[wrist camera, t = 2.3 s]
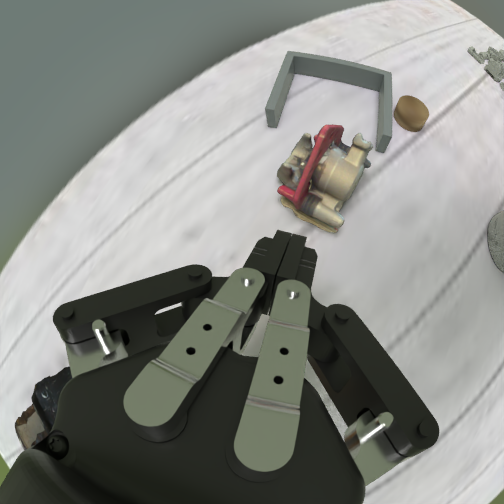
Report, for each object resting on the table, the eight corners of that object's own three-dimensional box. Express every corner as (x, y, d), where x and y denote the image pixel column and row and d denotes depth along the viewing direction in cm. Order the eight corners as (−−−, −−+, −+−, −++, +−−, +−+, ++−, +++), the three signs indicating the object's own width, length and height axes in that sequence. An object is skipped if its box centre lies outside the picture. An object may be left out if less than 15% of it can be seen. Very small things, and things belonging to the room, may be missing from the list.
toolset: (67, 302, 34) (99, 442, 13) (160, 355, 46) (252, 461, 26) (2, 445, 24) (24, 556, 4) (79, 472, 36) (124, 567, 16)
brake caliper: (292, 118, 33) (354, 90, 22) (345, 171, 37) (411, 165, 26) (243, 184, 32) (299, 173, 21) (307, 236, 36) (373, 249, 25)
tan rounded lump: (421, 113, 33) (427, 102, 30) (423, 136, 32) (429, 125, 30) (393, 103, 34) (398, 91, 31) (393, 126, 33) (398, 113, 30)
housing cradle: (386, 89, 35) (391, 72, 31) (383, 153, 33) (391, 137, 29) (288, 68, 38) (287, 51, 34) (268, 126, 36) (265, 108, 32)
